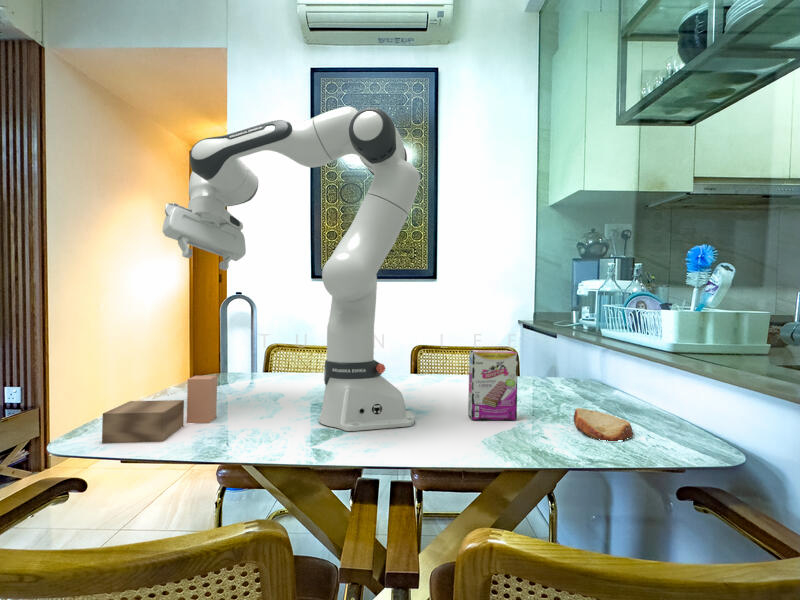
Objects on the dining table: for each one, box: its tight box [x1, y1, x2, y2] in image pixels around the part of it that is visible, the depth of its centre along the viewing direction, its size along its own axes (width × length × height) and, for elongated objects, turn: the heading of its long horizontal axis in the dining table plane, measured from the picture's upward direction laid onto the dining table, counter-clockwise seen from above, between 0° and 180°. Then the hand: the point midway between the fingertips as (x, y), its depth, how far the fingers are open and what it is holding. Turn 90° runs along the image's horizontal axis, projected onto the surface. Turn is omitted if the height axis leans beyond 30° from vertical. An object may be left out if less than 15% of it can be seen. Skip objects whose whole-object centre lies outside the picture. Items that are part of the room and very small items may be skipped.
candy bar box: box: [467, 349, 519, 421], centre depth 105 cm, size 11×5×16 cm, turn 93°
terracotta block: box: [186, 375, 218, 424], centre depth 99 cm, size 5×5×10 cm
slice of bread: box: [573, 407, 634, 441], centre depth 98 cm, size 18×18×4 cm
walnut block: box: [101, 399, 185, 445], centre depth 88 cm, size 11×11×6 cm
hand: (206, 262), depth 104 cm, fingers open, 8 cm apart
